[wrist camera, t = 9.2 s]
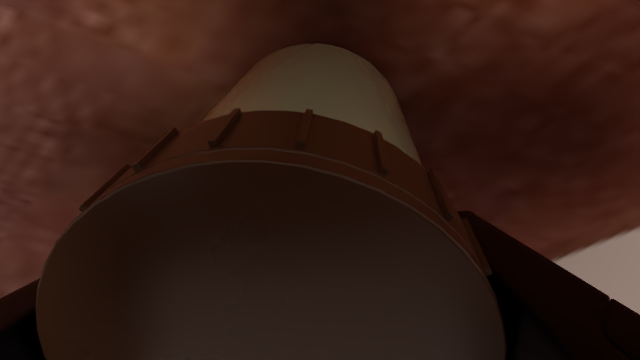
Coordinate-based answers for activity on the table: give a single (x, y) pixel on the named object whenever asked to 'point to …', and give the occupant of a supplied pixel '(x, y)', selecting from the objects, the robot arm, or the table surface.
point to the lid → (269, 253)
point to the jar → (322, 91)
